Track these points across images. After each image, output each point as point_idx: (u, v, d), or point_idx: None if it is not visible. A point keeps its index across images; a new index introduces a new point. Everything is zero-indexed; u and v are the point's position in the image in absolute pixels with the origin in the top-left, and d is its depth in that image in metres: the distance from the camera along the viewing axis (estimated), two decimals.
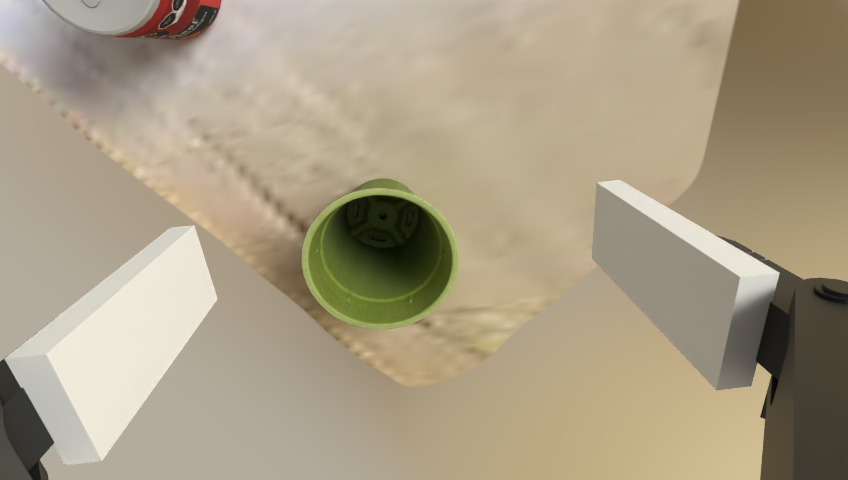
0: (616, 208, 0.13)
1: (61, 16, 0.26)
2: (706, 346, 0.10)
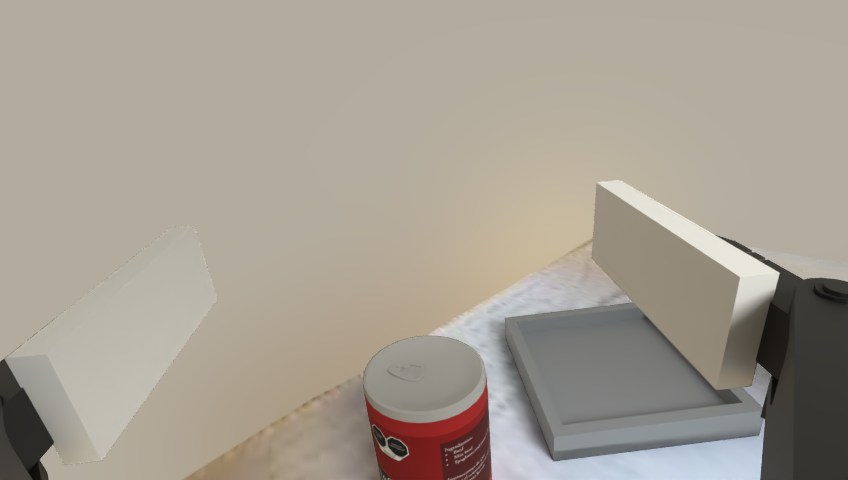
0: (616, 208, 0.13)
1: (382, 349, 0.31)
2: (706, 346, 0.10)
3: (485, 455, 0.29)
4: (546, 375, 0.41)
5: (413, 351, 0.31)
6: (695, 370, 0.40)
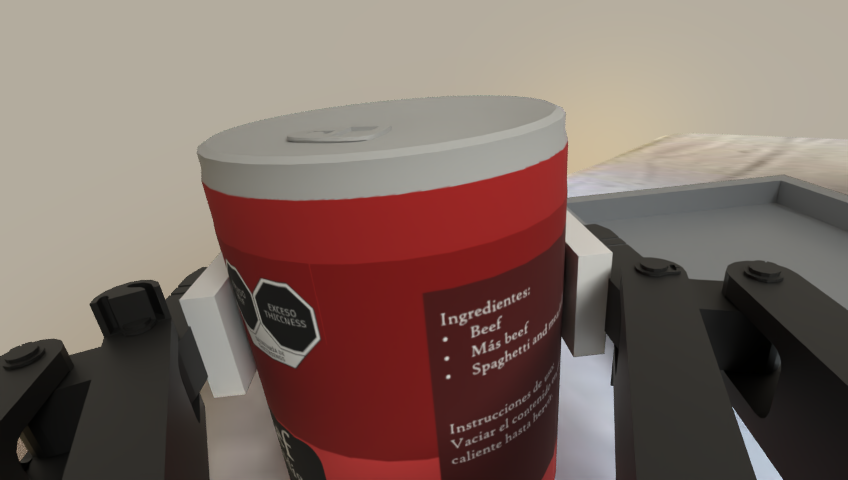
0: None
1: (287, 115, 0.12)
2: (567, 319, 0.11)
3: (555, 370, 0.10)
4: None
5: (364, 120, 0.12)
6: None
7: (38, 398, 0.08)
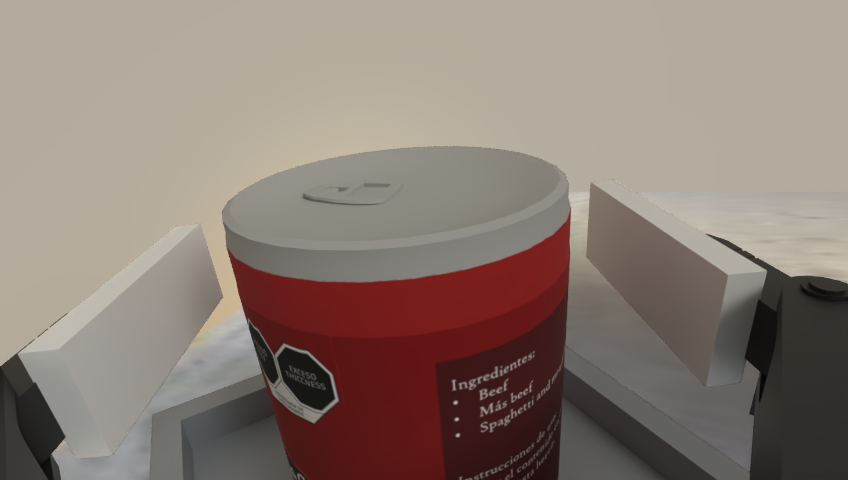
0: (610, 207, 0.13)
1: (302, 166, 0.13)
2: (696, 343, 0.10)
3: (557, 417, 0.11)
4: None
5: (376, 170, 0.13)
6: (614, 436, 0.16)
7: None
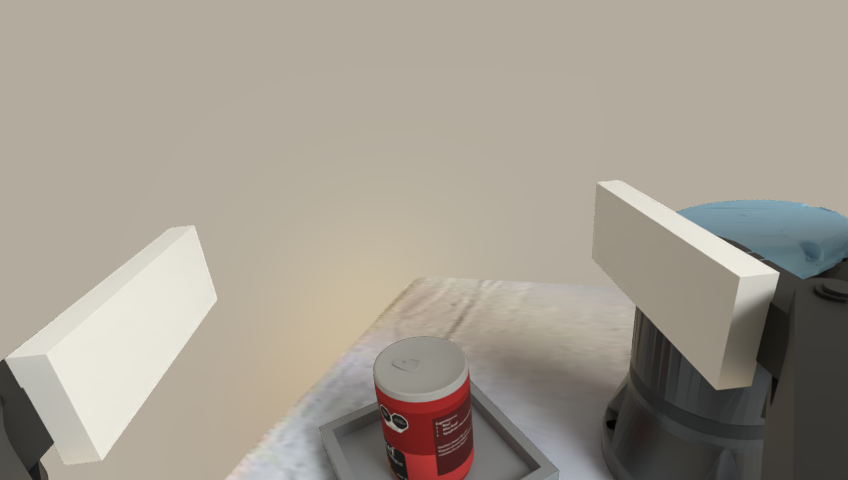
0: (616, 208, 0.13)
1: (388, 347, 0.39)
2: (706, 346, 0.10)
3: (467, 430, 0.37)
4: None
5: (412, 348, 0.39)
6: (501, 436, 0.43)
7: None
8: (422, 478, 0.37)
